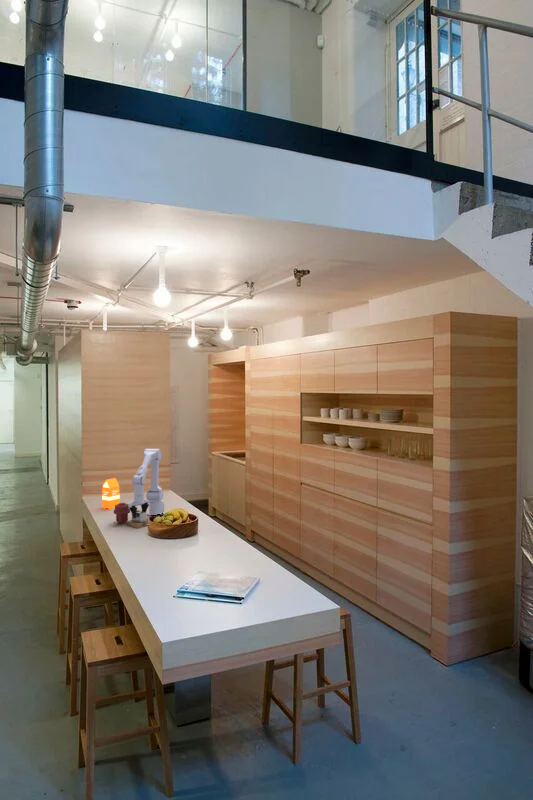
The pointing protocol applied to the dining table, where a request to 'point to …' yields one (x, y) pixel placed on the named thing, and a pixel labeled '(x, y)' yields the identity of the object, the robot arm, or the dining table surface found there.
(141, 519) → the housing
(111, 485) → the orange juice
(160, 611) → the dining table surface
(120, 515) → the mechanical component
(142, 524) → the stand
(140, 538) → the dining table surface
